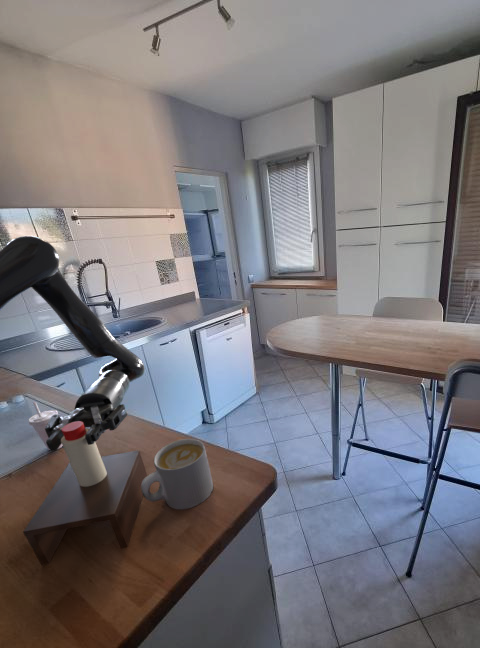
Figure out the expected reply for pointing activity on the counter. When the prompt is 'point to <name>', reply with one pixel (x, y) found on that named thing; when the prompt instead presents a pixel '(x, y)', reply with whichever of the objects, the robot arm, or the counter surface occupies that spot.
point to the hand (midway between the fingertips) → (70, 443)
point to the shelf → (89, 504)
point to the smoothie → (42, 423)
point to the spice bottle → (82, 455)
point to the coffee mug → (180, 475)
